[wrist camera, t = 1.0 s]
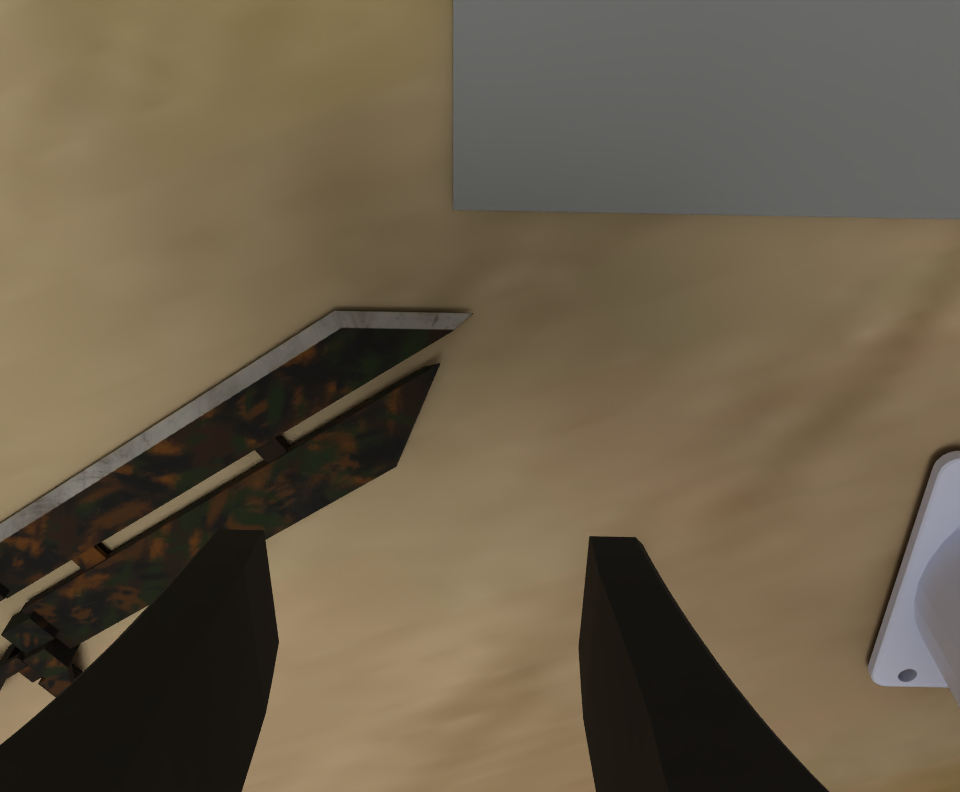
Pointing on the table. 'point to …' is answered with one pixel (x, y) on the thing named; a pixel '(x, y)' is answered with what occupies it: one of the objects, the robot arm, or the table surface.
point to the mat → (708, 107)
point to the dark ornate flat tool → (195, 457)
